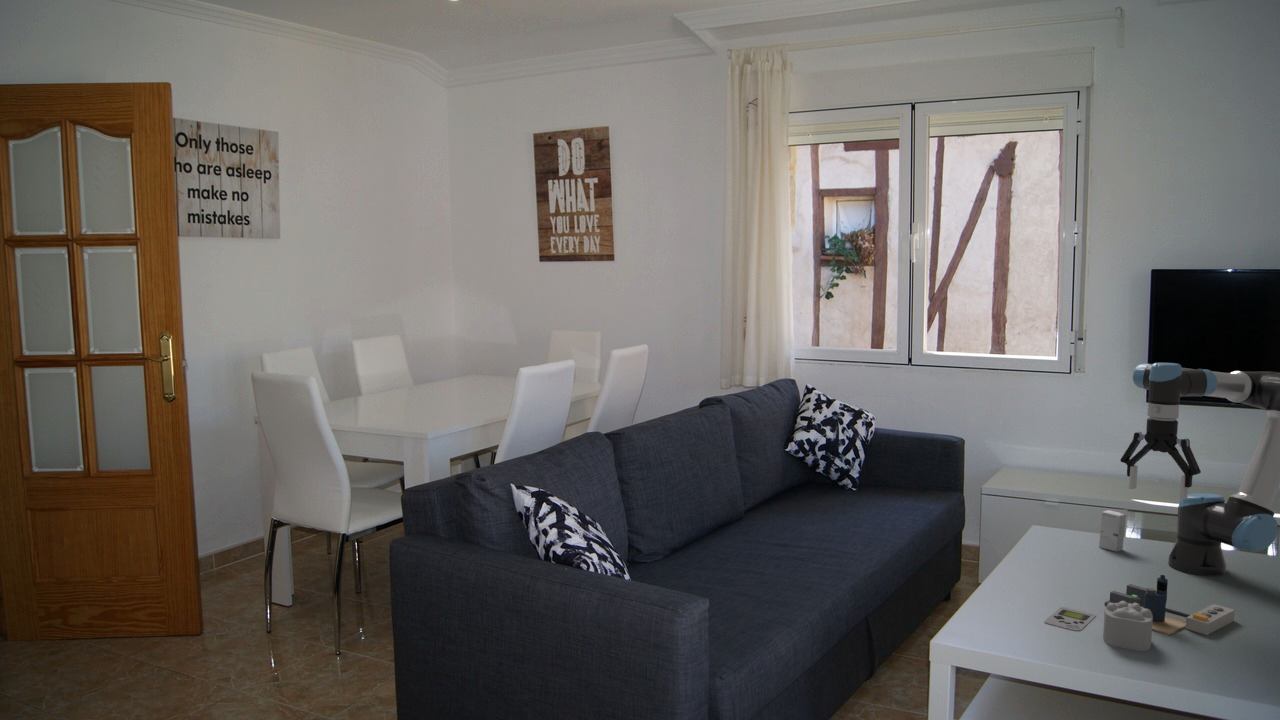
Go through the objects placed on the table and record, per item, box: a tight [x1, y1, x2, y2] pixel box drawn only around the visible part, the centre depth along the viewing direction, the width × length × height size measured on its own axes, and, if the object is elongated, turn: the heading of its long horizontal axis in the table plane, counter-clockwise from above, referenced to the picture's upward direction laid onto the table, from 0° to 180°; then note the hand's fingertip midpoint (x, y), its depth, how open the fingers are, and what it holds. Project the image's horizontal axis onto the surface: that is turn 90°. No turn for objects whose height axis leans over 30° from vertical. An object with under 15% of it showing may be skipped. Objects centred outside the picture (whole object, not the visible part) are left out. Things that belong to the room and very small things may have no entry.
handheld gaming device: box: [1043, 606, 1097, 632], centre depth 235 cm, size 9×1×15 cm
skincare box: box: [1098, 509, 1127, 552], centre depth 295 cm, size 6×4×12 cm
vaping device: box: [1143, 574, 1169, 622], centre depth 233 cm, size 3×5×12 cm, turn 81°
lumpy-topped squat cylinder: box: [1102, 601, 1153, 652], centre depth 222 cm, size 10×13×9 cm
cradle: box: [1104, 583, 1191, 618], centre depth 240 cm, size 11×21×5 cm, turn 36°
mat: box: [1152, 614, 1186, 636], centre depth 234 cm, size 12×12×1 cm
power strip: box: [1185, 603, 1236, 636], centre depth 232 cm, size 16×5×4 cm, turn 126°
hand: (1157, 493), depth 252 cm, fingers open, 13 cm apart
